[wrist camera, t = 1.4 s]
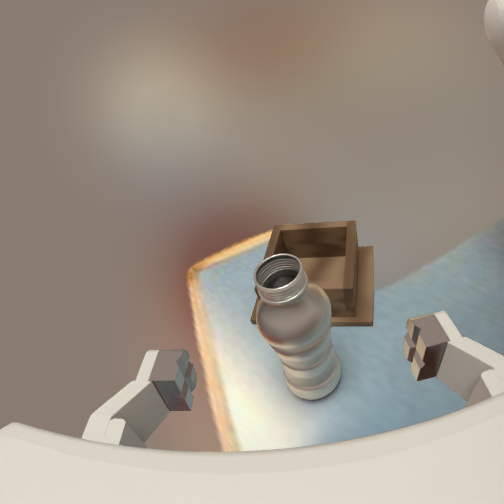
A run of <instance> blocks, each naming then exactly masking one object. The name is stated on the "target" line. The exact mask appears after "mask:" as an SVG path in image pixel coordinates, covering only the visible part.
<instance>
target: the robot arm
mask: <svg viewBox="0 0 504 504" xmlns="http://www.w3.org/2000/svg"><path fill="white" fill-rule="evenodd" d="M484 25H485V31H486V35H487V38H488V41H489V43H490V45H491V47H492V49H493V51H494V52H495V54H496V55H497V57H498V58H499V59H500V61H501V62H502V63H503V64H504V0H489V1H488V2H487V5H486V8H485V12H484ZM406 329H407V331H408V332H407V334H406V335H405V336H404V342H403V346H404V353H405V356H406V358H407V360H408V361H410V362H411V363H412V366H411V370H412V372H413V374H414V377H415V379H416V381H420V380H424V379H428V378H432V377H436V376H437V377H436V378H438V379H439V380H440V381H441V382H443V383H444V384H445V385H447V386H448V387H449V388H450V389H452V390H453V391H454V392H456V393H457V394H458V395H459V396H461V397H462V398H463V399H465V400H466V401H467V404H466V406H465V408H463V409H460V410H458V411H455V412H452V413H449V414H446V415H443V416H440V417H437V418H434V419H431V420H428V421H424V422H421V423H418V424H414V425H411V426H407V427H403V428H400V429H396V430H392V431H388V432H384V433H379V434H375V435H371V436H366V437H361V438H356V439H351V440H345V441H340V442H334V443H327V444H320V445H313V446H305V447H296V448H287V449H275V450H261V451H238V452H196V451H174V450H160V449H148V448H147V446H146V445H145V444H144V442H145V441H146V440H147V439H148V438H149V436H150V435H151V434H152V433H153V432H154V431H155V429H156V428H157V427H158V426H159V425H160V423H161V422H162V421H163V420H164V419H165V418H166V417H167V415H168V414H169V413H170V411H191V408H192V403H193V398H194V397H193V395H192V393H191V392H192V391H193V390H194V389H195V387H196V371H195V368H194V365H193V364H192V363H190V362H189V357H190V356H189V354H188V352H187V350H185V349H174V350H149V351H147V352H146V354H145V357H144V360H143V362H142V365H141V367H140V370H139V373H138V375H137V378H136V381H132V382H131V383H129V384H128V385H127V386H126V387H124V388H123V389H122V390H121V391H119V392H118V393H117V394H116V395H115V396H113V397H112V398H111V399H110V400H108V401H107V402H106V403H105V404H104V405H102V406H101V407H100V408H99V409H97V410H96V411H95V412H94V413H93V414H91V416H90V419H89V421H88V424H87V426H86V429H85V431H84V434H83V436H82V439H80V438H76V437H71V436H67V435H62V434H58V433H54V432H50V431H46V430H42V429H38V428H35V427H31V426H28V425H25V424H22V423H17V422H14V423H11V424H9V425H7V426H5V427H4V428H2V429H1V430H0V504H504V356H502V355H501V354H499V353H497V352H495V351H493V350H491V349H489V348H487V347H485V346H483V345H481V344H479V343H477V342H475V341H473V340H471V339H469V338H467V337H462V336H461V334H460V333H459V331H458V330H457V328H456V327H455V325H454V324H453V322H452V321H451V319H450V318H449V316H448V315H447V313H446V312H445V311H440V312H436V313H432V314H428V315H424V316H420V317H415V318H411V319H408V321H407V324H406Z"/></svg>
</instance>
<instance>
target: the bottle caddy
mask: <svg viewBox="0 0 504 504" xmlns="http://www.w3.org/2000/svg"><path fill="white" fill-rule="evenodd" d="M282 253H286V254H292V255H294V256H296V257H297V258H298V259H299V260H300V261H301V263H302V265H303V269H304V271H305V272H306V274H307V277H308V280H310V281H313V282H315V283H317V284H318V285H319V286H320V287H321V288H322V289H323V290H324V291H325V293H326V294H327V295H328V297H329V300H330V303H331V312H332V315H331V326H373V246H369V247H358V240H357V230H356V222H355V221H339V222H323V223H308V224H292V225H278V226H274V228H273V231H272V234H271V238H270V241H269V244H268V247H267V250H266V254H265V257H264V260H265V259H266V258H268V257H270V256H273V255H276V254H282ZM255 292H256V294H257V296H258V297H257V300H256V303H255V307H254V310H253V313H252V316H251V322H252V324H257V323H256V310H257V306H258V303H259V301H260V299H261V298H260V296H259V294H258V290H257V286H255Z"/></svg>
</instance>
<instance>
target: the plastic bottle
mask: <svg viewBox="0 0 504 504" xmlns="http://www.w3.org/2000/svg"><path fill="white" fill-rule="evenodd" d="M254 282H255V284H256V286H257V290H258V294H259V296H260V298H261V299H260V301H259V303H258V306H257V310H256V323H257V328H258V330H259V332H260V333H261V335H262V336H263V338H264V339H265V340H266V341H267V342H268V344H269V345H270V346H271V347H272V348H273V349H274V350H275V352H276V353H277V355H278V356H279V358H280V360H281V361H282V365H283V368H284V377H285V381H286V384H287V386H288V388H289V389H290V390H291V391H292V392H293V393H294V394H296V395H297V396H298V397H300V398H303V399H307V400H315V399H320V398H322V397H325V396H326V395H328V394H329V393H331V392H332V391H333V390H334V389H335V387H336V386H337V384H338V382H339V379H340V376H341V363H340V360H339V358H338V356H337V354H336V353H335V351H334V349H333V346H332V343H331V334H330V328H331V315H332V312H331V303H330V300H329V297H328V295H327V294H326V293H325V291H324V290H323V289H322V288H321V287H320V286H319V285H318V284H317V283H315V282H313V281H310V280H308V277H307V274H306V272H305V271H304V269H303V265H302V263H301V261H300V260H299V259H298V258H297V257H296V256H294V255H292V254H286V253H282V254H276V255H273V256H270V257H268V258H266V259H265V260H263V261H262V262H261V263H260V264H259V265H258V266H257V268H256V269H255V272H254Z"/></svg>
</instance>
